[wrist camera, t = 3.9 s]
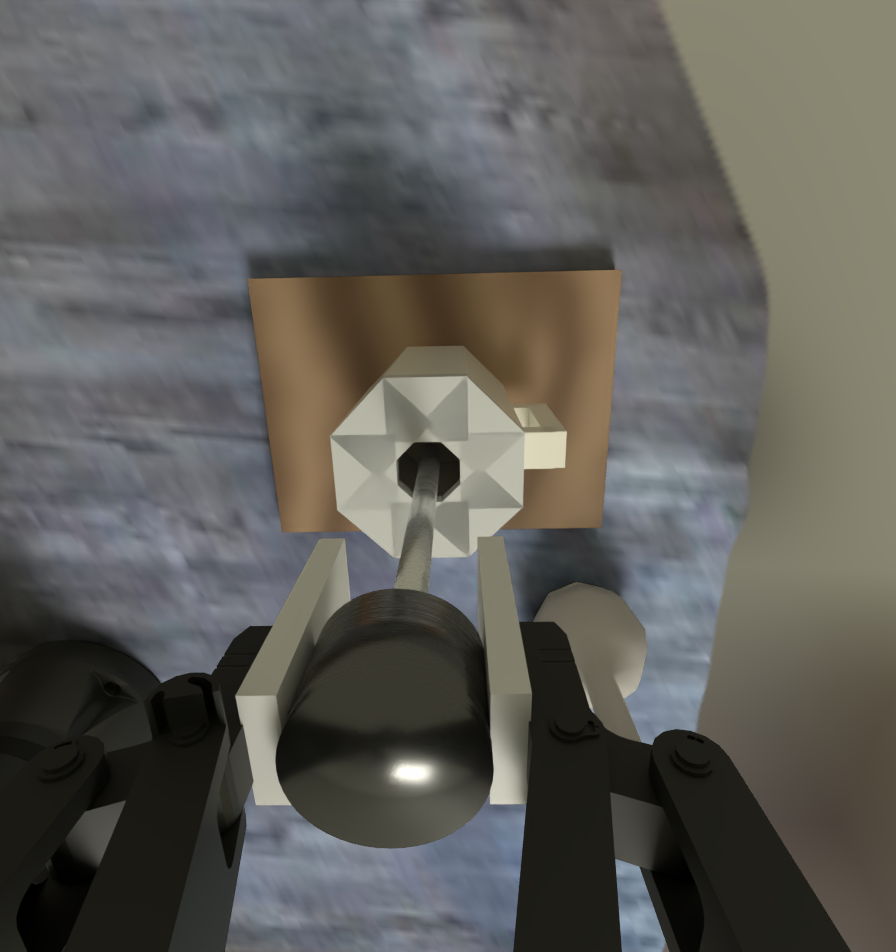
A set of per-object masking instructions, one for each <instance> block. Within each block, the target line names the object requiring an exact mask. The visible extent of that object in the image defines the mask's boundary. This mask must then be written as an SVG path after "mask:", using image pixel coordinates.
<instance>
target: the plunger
mask: <svg viewBox="0 0 896 952" xmlns="http://www.w3.org/2000/svg"><path fill="white" fill-rule="evenodd" d="M440 457H441V450H440V447H439V446H438V445H436V444H434V443H428V444H426V445H425V446H424V447H423V449H422V454H421V459H420V464H419V469H418V473H417V478H416V483H415V488H414V493H413V498H412V503H411V508H410V512H409V517H408V522H407V527H406V532H405V537H404V542H403V547H402V552H401V556H400V561H399V566H398V571H397V576H396V581H395V586H394V589H384V590H378V591H373V592H370V593H367V594H363V595H361V596H359V597H357V598H354V599H352V600H351V601H349V602H347V603H346V604H344V605H343V606H342V607H340V608H339V609H338V610H337V611H336V612H335V613H334V614H333V615H332V616H331V617H330V618H329V619H328V621H327V622H326V624H325V625H324V627H323V629H322V631H321V633H320V635H319V638H318V640H317V643H316V645H315V648H314V650H313V653H312V655H311V658H310V661H309V663H308V666H307V668H306V671H305V673H304V676H303V679H302V681H301V684H300V686H299V689H298V691H297V694H296V697H295V699H294V702H293V704H292V707H291V709H290V712H289V714H288V717H287V720H286V722H285V725H284V727H283V730H282V732H281V735H280V738H279V741H278V745H277V748H276V758H275V763H276V772H277V776H278V780H279V783H280V786H281V788H282V790H283V792H284V794H285V796H286V797H287V799H288V801H289V802H290V803H291V805H292V806H293V807H294V808H295V809H296V811H297V812H298V813H299V814H301V815H302V816H303V817H304V818H305V819H306V820H307V821H309V822H310V823H311V824H313V825H314V826H315V827H317V828H319V829H320V830H322V831H324V832H325V833H327V834H329V835H332V836H334V837H336V838H338V839H341V840H344V841H347V842H350V843H353V844H358V845H362V846H368V847H375V848H406V847H413V846H419V845H423V844H427V843H430V842H433V841H436V840H439V839H442V838H444V837H446V836H448V835H450V834H452V833H453V832H455V831H457V830H458V829H460V828H461V827H463V826H464V825H465V824H466V823H467V822H469V821H470V820H471V819H472V818H473V817H474V816H475V815H476V814H477V812H478V811H479V810H480V809H481V807H482V806H483V804H484V803H485V801H486V799H487V797H488V795H489V792H490V789H491V786H492V782H493V774H494V765H493V752H492V740H491V736H490V724H489V711H488V698H487V685H486V671H485V658H484V647H483V643H482V641H481V638H480V636H479V634H478V632H477V630H476V629H475V627H474V626H473V624H472V623H471V622H470V621H469V619H468V618H467V617H466V616H465V615H464V614H463V613H462V612H461V611H460V610H458V609H457V608H456V607H454V606H453V605H451V604H450V603H448V602H446V601H445V600H443V599H441V598H439V597H436V596H434V595H431V594H428V589H429V578H430V567H431V556H432V545H433V534H434V523H435V512H436V501H437V490H438V479H439V468H440Z"/></svg>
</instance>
